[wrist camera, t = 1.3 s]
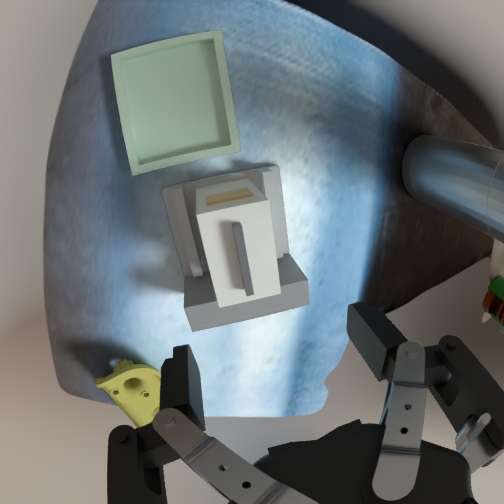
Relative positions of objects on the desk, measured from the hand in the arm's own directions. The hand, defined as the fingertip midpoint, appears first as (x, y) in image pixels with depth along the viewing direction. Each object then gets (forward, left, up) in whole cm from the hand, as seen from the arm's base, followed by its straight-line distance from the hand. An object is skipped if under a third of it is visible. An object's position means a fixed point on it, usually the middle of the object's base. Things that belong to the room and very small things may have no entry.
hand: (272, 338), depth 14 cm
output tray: (+3, -13, -19) cm, 23 cm away
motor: (-57, +29, -20) cm, 67 cm away
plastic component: (+18, +24, -20) cm, 36 cm away
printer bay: (0, +1, -19) cm, 19 cm away
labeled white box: (0, 0, -18) cm, 18 cm away
